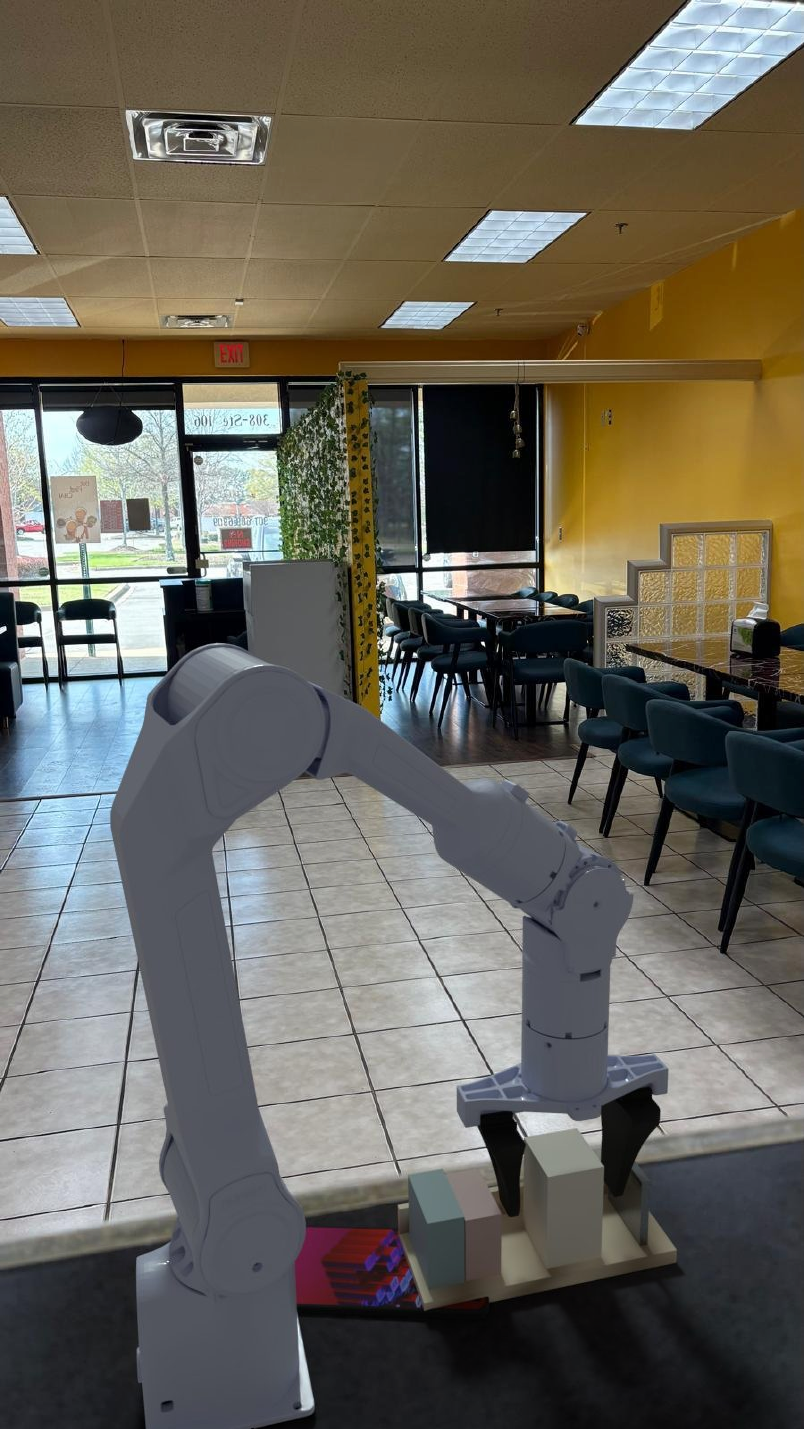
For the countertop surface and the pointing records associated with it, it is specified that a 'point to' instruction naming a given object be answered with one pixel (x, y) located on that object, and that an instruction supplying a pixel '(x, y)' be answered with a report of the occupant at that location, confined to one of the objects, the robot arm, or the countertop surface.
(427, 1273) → the shelved books
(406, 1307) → the smartphone
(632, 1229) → the bookend
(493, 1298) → the shelf board
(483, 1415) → the countertop surface
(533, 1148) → the book
